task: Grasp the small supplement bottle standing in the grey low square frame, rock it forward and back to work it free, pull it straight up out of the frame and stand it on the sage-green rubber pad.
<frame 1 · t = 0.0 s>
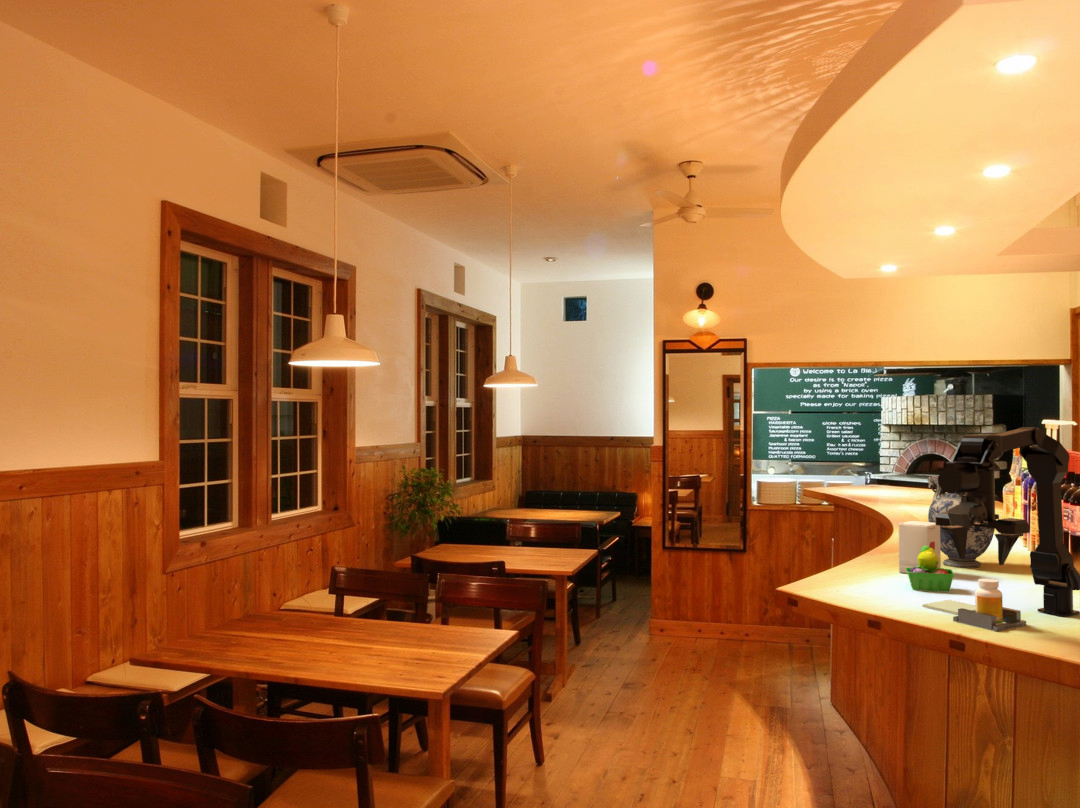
hand: (981, 561, 181), 15 cm above the table, fingers open, 9 cm apart
fruit basket: (929, 589, 222), on the table
pad: (954, 608, 199), on the table
grey low square frame: (989, 623, 185), on the table
supplement bottle: (989, 624, 185), resting in grey low square frame
supplement box: (920, 573, 244), on the table
decorative vase: (961, 565, 256), on the table
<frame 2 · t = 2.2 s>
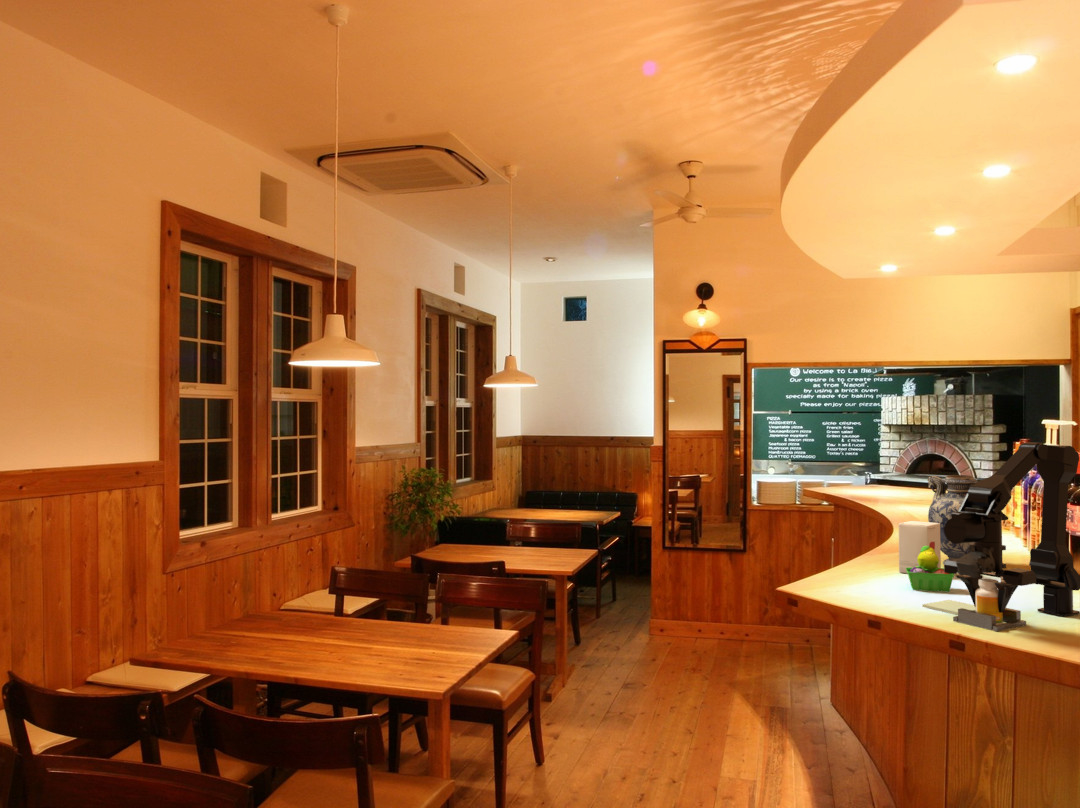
hand: (989, 609, 185), 3 cm above the table, fingers closed on supplement bottle, 5 cm apart
supplement bottle: (989, 624, 185), resting in grey low square frame, touching gripper
everything else where it was.
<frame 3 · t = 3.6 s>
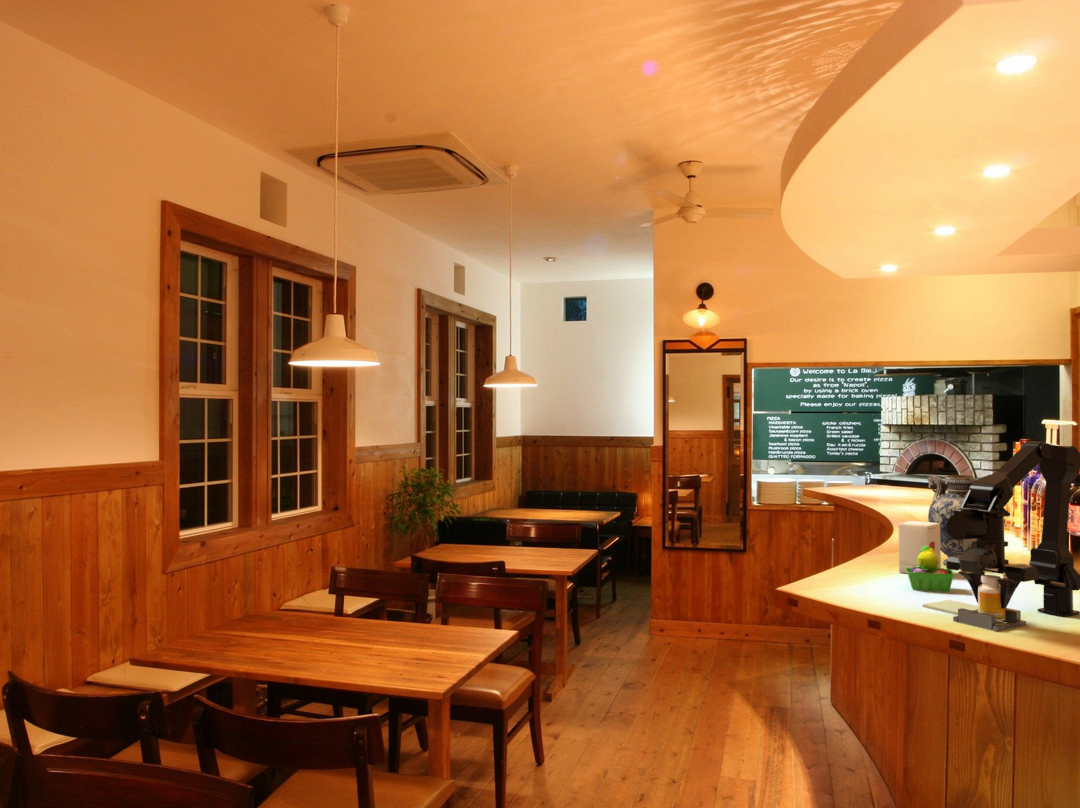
hand: (991, 605, 185), 4 cm above the table, fingers closed on supplement bottle, 5 cm apart
supplement bottle: (992, 620, 185), point 1 cm above the table, touching gripper
everything else where it was.
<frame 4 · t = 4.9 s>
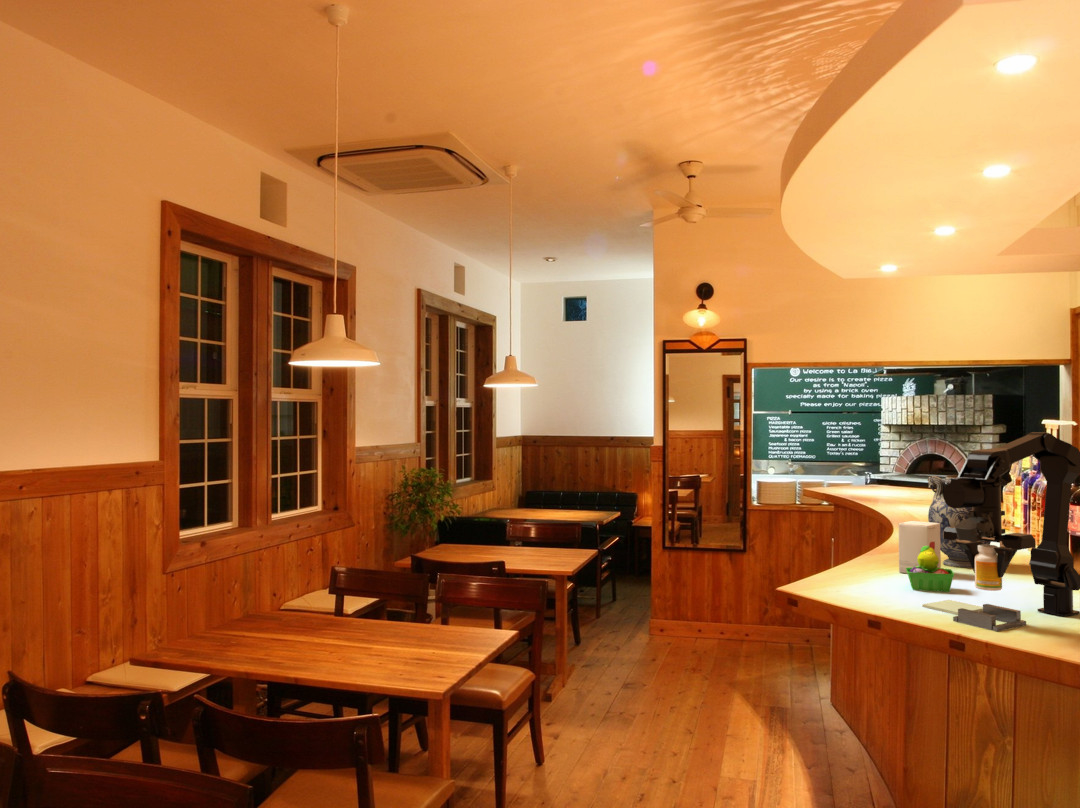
hand: (988, 575, 185), 11 cm above the table, fingers closed on supplement bottle, 5 cm apart
supplement bottle: (988, 589, 185), point 8 cm above the table, touching gripper
everything else where it was.
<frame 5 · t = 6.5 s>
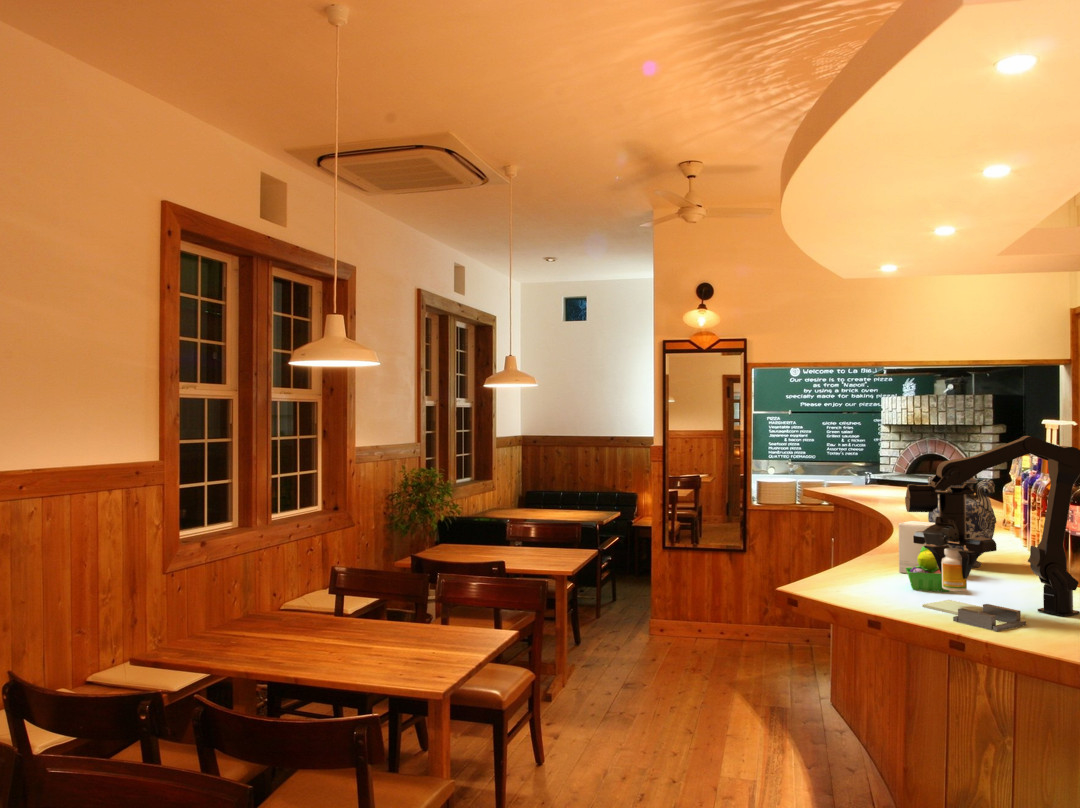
hand: (954, 576, 199), 8 cm above the table, fingers closed on supplement bottle, 5 cm apart
supplement bottle: (954, 590, 199), point 4 cm above the table, touching gripper
everything else where it was.
when the fingers open (4 cm above the table, at t = 7.9 s): supplement bottle stays where it is, resting on pad.
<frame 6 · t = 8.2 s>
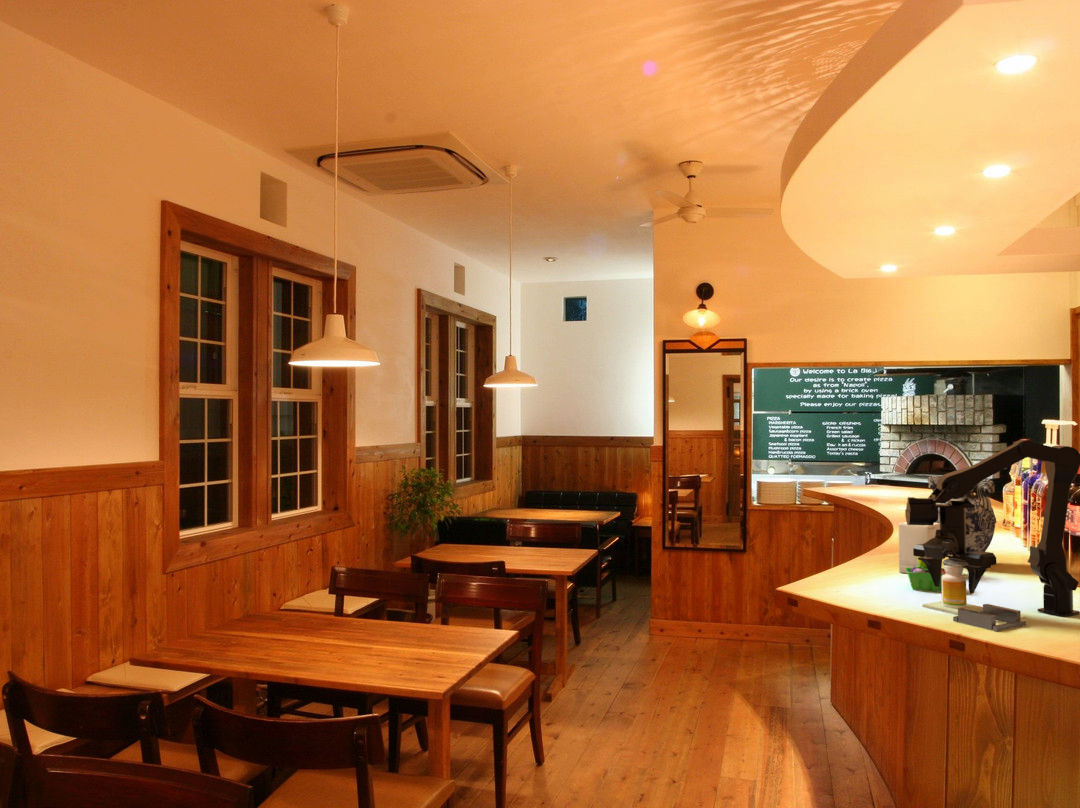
hand: (953, 590, 199), 4 cm above the table, fingers open, 9 cm apart
supplement bottle: (954, 606, 199), resting on pad
everything else where it was.
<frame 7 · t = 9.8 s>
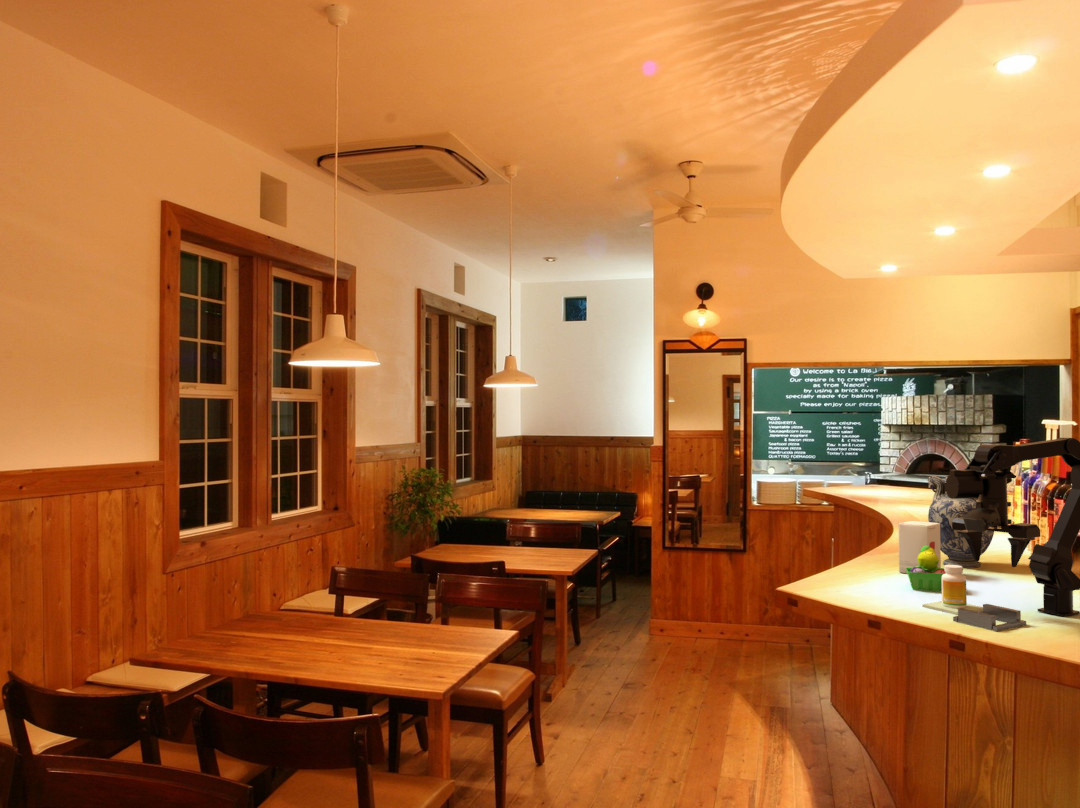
hand: (995, 563, 193), 12 cm above the table, fingers open, 9 cm apart
nothing on the table moved.
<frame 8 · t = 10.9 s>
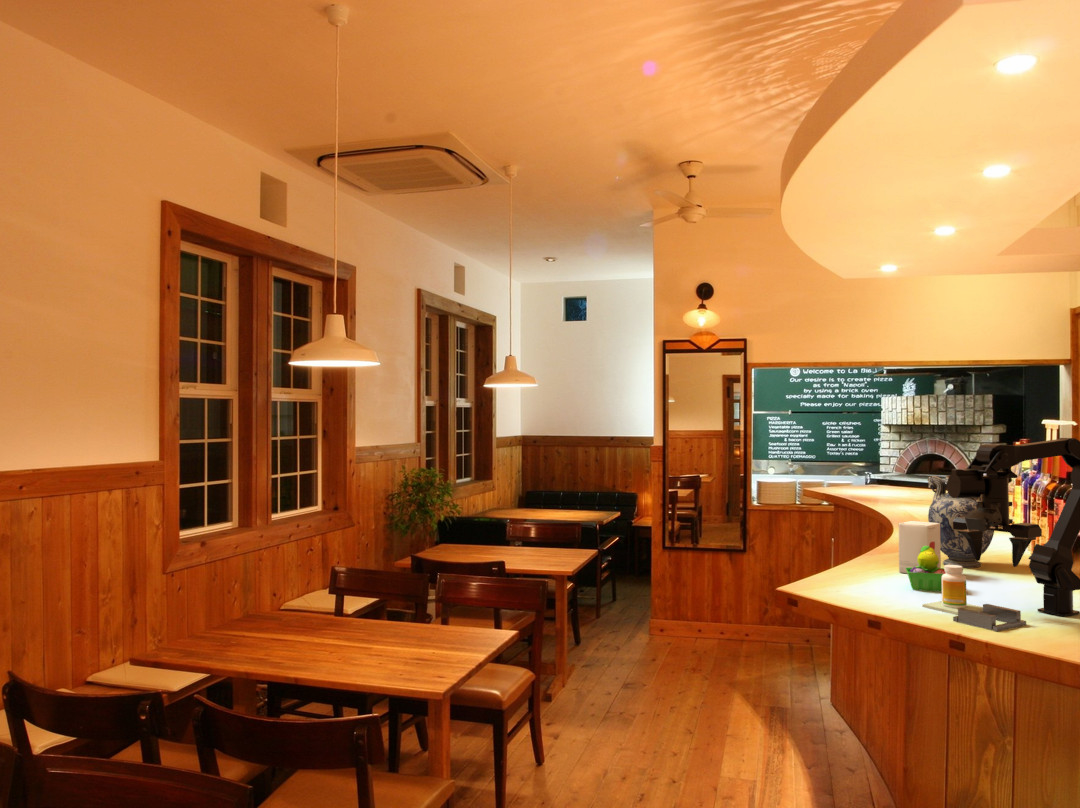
hand: (996, 563, 193), 12 cm above the table, fingers open, 9 cm apart
nothing on the table moved.
at the end: supplement bottle inside the target area on the pad (0.0 cm from its centre), point 0.4 cm above the pad's base; supplement bottle tilted 0°; the gripper is holding nothing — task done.
